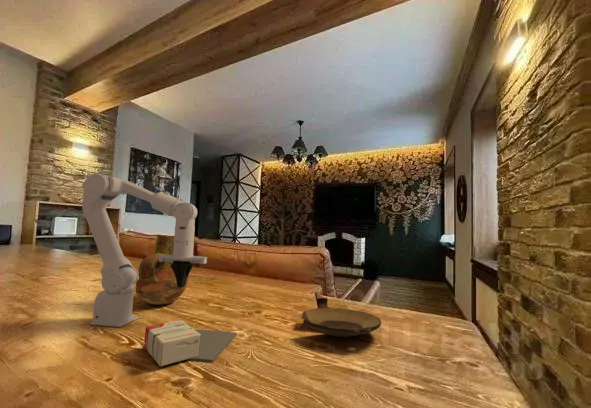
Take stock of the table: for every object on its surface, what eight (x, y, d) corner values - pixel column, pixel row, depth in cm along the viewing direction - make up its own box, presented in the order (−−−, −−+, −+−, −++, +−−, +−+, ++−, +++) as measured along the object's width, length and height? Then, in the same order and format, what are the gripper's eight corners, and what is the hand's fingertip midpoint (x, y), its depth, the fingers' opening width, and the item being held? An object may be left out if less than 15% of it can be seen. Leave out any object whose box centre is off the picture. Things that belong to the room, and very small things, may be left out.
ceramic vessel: (201, 295, 117) (205, 234, 119) (164, 315, 91) (169, 236, 93) (163, 292, 119) (167, 233, 121) (116, 310, 94) (122, 234, 96)
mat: (152, 356, 63) (152, 354, 63) (188, 330, 79) (188, 328, 79) (212, 362, 61) (213, 359, 62) (236, 334, 77) (236, 332, 77)
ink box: (143, 348, 66) (159, 367, 57) (145, 326, 66) (161, 342, 58) (180, 339, 72) (200, 356, 63) (182, 319, 72) (202, 333, 63)
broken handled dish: (299, 349, 70) (300, 317, 70) (302, 312, 99) (303, 290, 100) (392, 355, 68) (392, 322, 69) (367, 315, 98) (367, 293, 99)
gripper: (211, 241, 91) (209, 285, 90) (169, 240, 92) (166, 282, 91) (202, 243, 84) (199, 290, 83) (156, 241, 85) (152, 287, 84)
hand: (181, 286), depth 86 cm, fingers closed
